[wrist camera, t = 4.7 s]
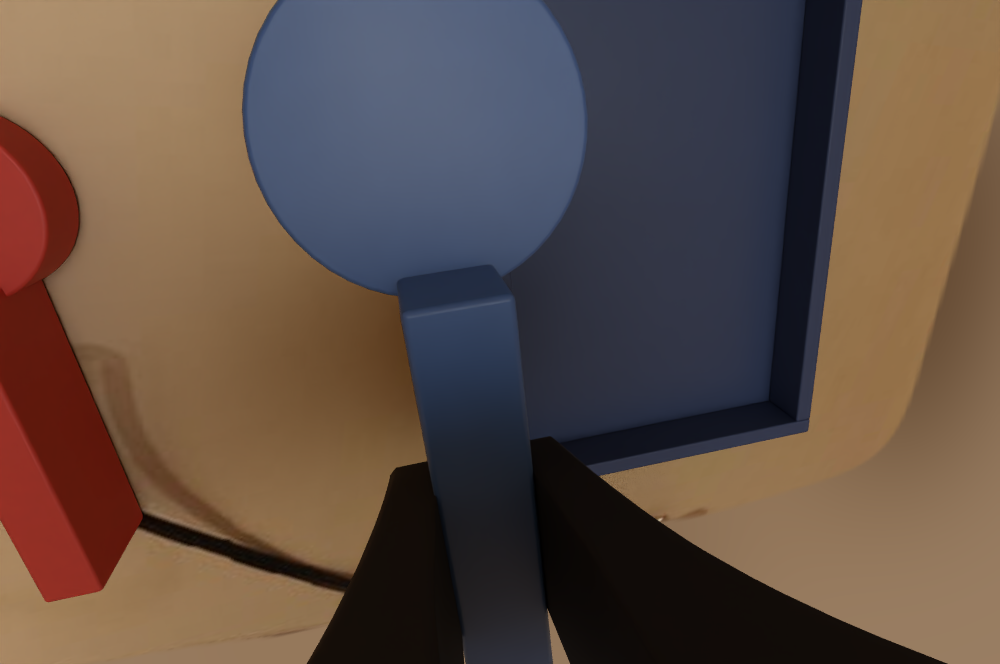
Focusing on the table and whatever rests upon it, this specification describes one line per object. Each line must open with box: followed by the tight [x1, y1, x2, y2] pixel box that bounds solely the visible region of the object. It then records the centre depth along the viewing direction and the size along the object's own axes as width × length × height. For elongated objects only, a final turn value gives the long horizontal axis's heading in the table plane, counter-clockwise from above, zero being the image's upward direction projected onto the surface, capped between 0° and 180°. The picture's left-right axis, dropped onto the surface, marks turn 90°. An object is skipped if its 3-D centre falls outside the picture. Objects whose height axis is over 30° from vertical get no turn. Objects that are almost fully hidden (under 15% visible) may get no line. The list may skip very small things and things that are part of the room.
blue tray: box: [501, 0, 862, 476], centre depth 16 cm, size 16×10×2 cm, turn 6°
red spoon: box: [0, 116, 143, 602], centre depth 14 cm, size 12×4×3 cm, turn 6°
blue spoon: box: [242, 0, 588, 664], centre depth 9 cm, size 12×4×3 cm, turn 6°
